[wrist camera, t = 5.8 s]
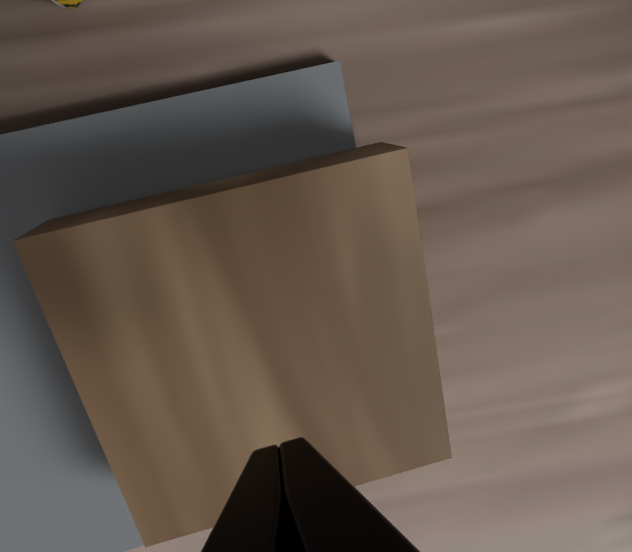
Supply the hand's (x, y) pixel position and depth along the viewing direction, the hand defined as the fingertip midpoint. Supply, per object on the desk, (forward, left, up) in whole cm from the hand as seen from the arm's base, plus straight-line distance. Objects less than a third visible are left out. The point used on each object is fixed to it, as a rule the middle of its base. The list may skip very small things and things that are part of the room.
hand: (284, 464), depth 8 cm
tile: (-4, 0, -4) cm, 6 cm away
